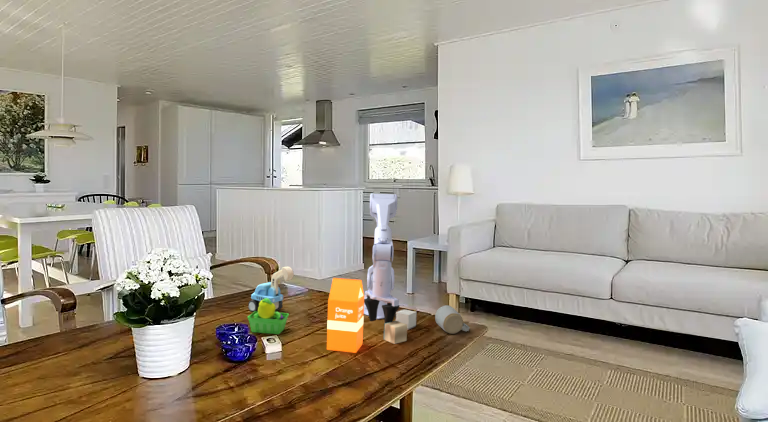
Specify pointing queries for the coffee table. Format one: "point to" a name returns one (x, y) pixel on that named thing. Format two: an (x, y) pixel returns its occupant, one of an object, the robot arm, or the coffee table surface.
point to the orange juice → (345, 315)
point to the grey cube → (406, 318)
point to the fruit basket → (267, 318)
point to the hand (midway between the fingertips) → (380, 323)
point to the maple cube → (395, 332)
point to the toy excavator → (271, 290)
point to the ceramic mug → (450, 320)
